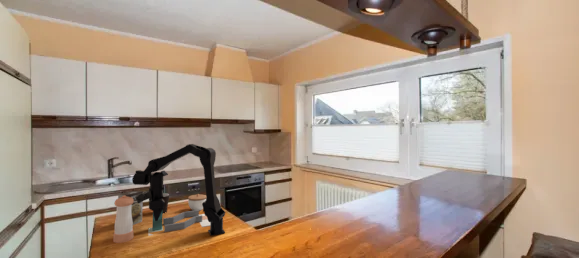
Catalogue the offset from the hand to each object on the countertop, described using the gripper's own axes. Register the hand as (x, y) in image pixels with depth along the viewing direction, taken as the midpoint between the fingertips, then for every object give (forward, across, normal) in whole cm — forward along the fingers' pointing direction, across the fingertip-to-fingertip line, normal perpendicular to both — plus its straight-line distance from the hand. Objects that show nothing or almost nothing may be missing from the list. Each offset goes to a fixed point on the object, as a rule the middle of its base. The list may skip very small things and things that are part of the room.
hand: (156, 217), depth 119 cm
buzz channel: (+7, -3, +13) cm, 15 cm away
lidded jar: (+6, -24, +23) cm, 34 cm away
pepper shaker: (+6, +6, -12) cm, 15 cm away
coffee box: (+6, -14, -11) cm, 19 cm away
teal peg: (+5, 0, +1) cm, 5 cm away
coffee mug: (+6, -26, +3) cm, 27 cm away
